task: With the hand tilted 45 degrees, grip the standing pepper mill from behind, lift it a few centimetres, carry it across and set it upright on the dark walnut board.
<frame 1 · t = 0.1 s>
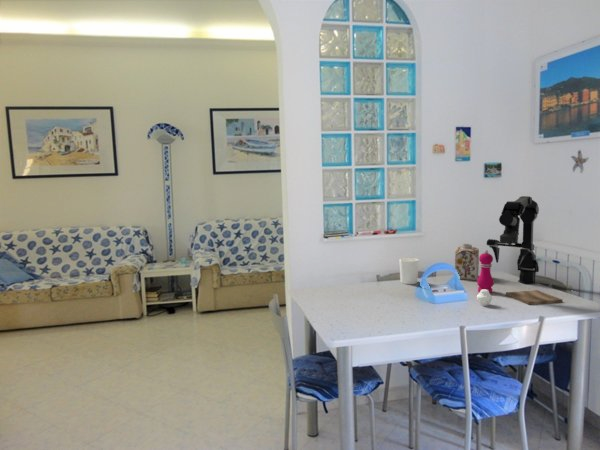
hand: (507, 263, 201), 15 cm above the table, tool pointing down, fingers open, 9 cm apart
pepper mill: (485, 292, 214), on the table
walnut board: (533, 298, 201), on the table
candle holder: (408, 282, 235), on the table
white rounded lump: (484, 305, 193), on the table
decorative jar: (466, 277, 243), on the table
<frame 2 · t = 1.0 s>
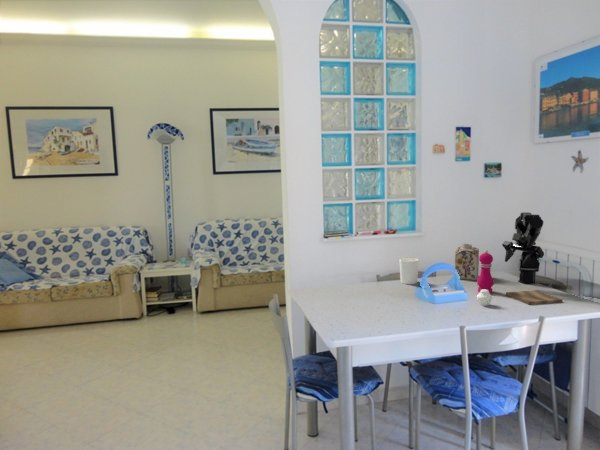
hand: (514, 263, 213), 13 cm above the table, tool tilted 45°, fingers open, 9 cm apart
nothing on the table moved.
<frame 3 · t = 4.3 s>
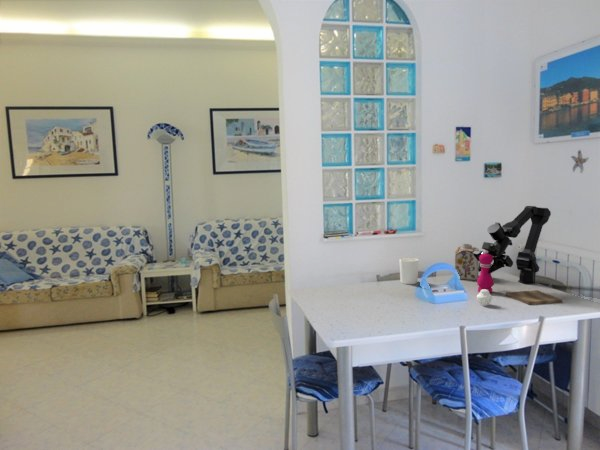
hand: (483, 272, 212), 10 cm above the table, tool tilted 45°, fingers closed on pepper mill, 5 cm apart
pepper mill: (485, 292, 214), on the table, touching gripper
everything else where it was.
when the fingers open (12 cm above the table, at t = 8.3 s): pepper mill stays where it is, resting on walnut board.
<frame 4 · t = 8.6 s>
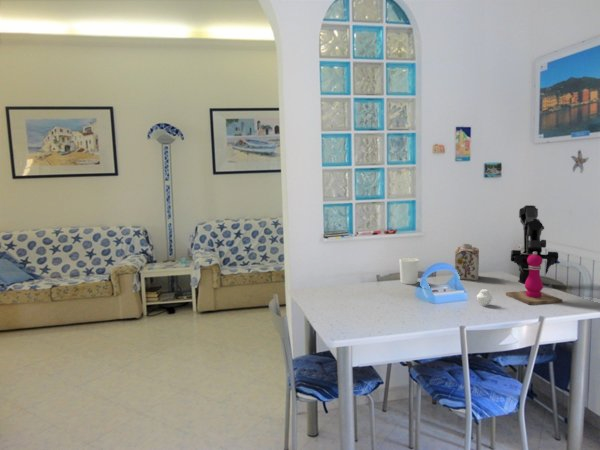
hand: (534, 272, 198), 12 cm above the table, tool tilted 45°, fingers open, 9 cm apart
pepper mill: (533, 296, 201), point 1 cm above the table, touching walnut board
everything else where it was.
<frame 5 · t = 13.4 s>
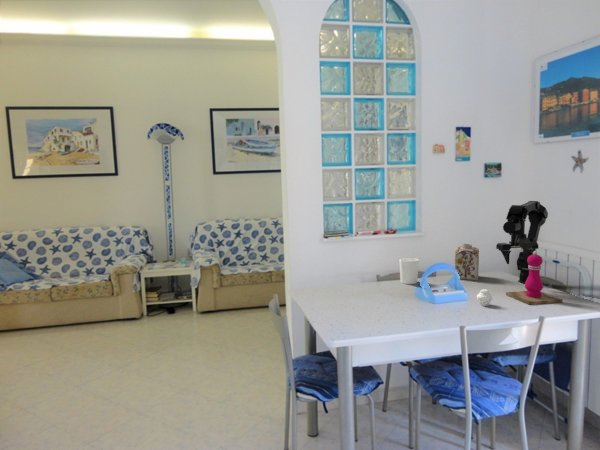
hand: (516, 263, 218), 12 cm above the table, tool pointing down, fingers open, 9 cm apart
nothing on the table moved.
at the end: pepper mill inside the target area on the walnut board (0.4 cm from its centre), point 1.0 cm above the walnut board's base; pepper mill tilted 0°; the gripper is holding nothing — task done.
